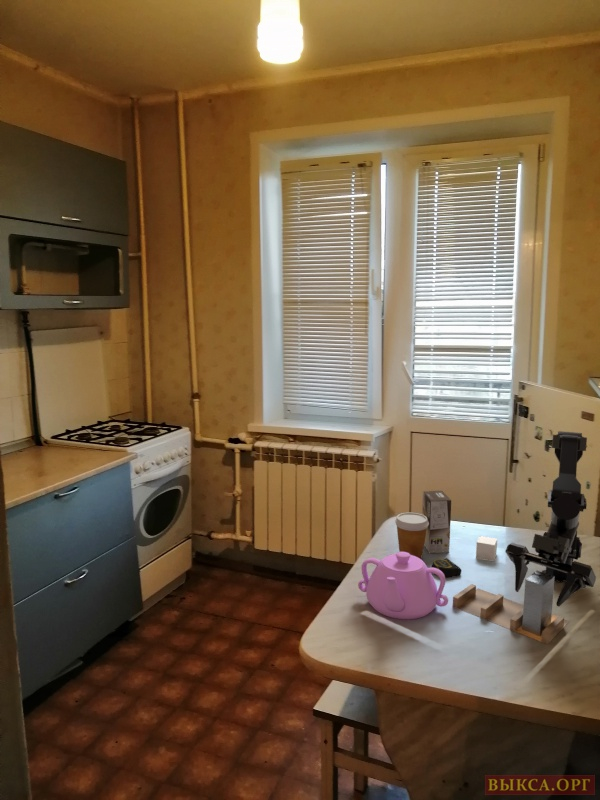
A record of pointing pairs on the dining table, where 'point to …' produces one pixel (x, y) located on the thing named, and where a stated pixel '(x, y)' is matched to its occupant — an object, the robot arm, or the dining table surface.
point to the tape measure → (446, 567)
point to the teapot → (402, 586)
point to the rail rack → (502, 612)
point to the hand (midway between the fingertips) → (536, 598)
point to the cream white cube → (486, 548)
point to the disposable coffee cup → (411, 533)
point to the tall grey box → (538, 602)
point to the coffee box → (437, 521)
